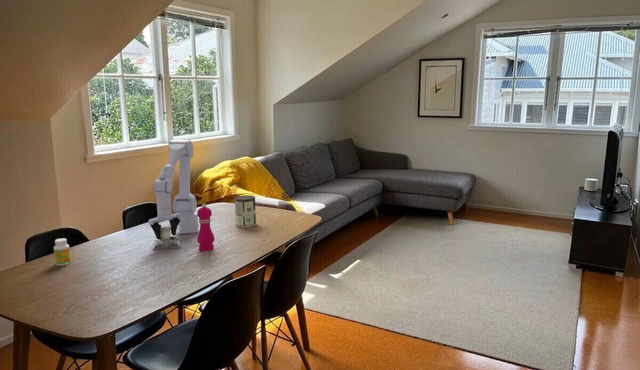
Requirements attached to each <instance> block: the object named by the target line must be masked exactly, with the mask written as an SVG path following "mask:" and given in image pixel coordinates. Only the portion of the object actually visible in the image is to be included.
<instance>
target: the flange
mask: <svg viewBox="0 0 640 370" xmlns="http://www.w3.org/2000/svg"><path fill="white" fill-rule="evenodd" d="M170 235H171V239H170V240H158V239H156V238H155V240H153V245H152V251H160V250H168V249H170V250H172V249H180V248H181V243H180V242H181V239H180V238H178V237H177V236H176V235H175V236H174V235H172V234H170Z"/></svg>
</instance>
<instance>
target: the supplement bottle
mask: <svg viewBox="0 0 640 370" xmlns="http://www.w3.org/2000/svg"><path fill="white" fill-rule="evenodd" d="M54 244H55V245H54V246H53V255H54V260H55V261H54V262H55V265H56V266H67V265H70V264H71V263H72V260H71V251H70V250H71V249H70V245H69V244H68V240H67V238H64V237H63V238H56V239H55V240H54Z"/></svg>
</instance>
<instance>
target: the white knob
mask: <svg viewBox="0 0 640 370" xmlns="http://www.w3.org/2000/svg"><path fill="white" fill-rule="evenodd" d="M171 235H172V234H171V226H169V225H168V226H166V225H165V226H161V239H160V240H170V239H171Z"/></svg>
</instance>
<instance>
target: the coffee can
mask: <svg viewBox="0 0 640 370" xmlns="http://www.w3.org/2000/svg"><path fill="white" fill-rule="evenodd" d="M234 210H235V211H234V212H235V226H236V227H238V228H251V227H255V226H256V225H257V218H256V213H257V212H256V196H254V195H248V194H247V195H238V196H235V197H234Z"/></svg>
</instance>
